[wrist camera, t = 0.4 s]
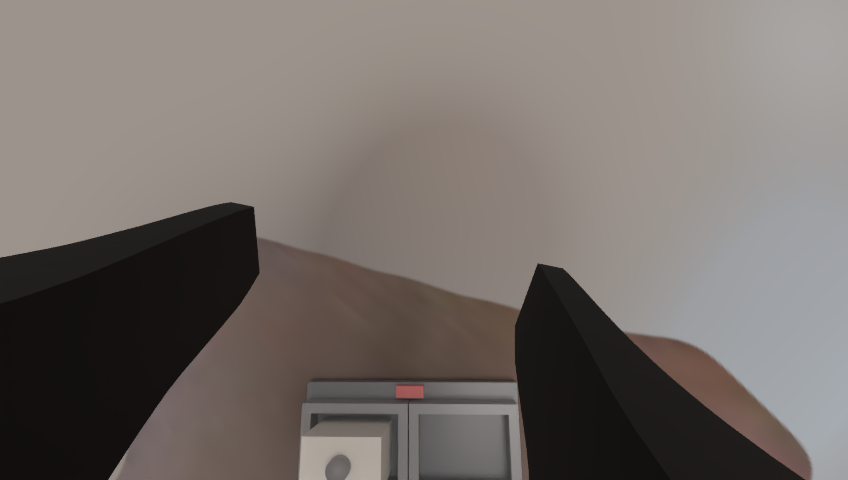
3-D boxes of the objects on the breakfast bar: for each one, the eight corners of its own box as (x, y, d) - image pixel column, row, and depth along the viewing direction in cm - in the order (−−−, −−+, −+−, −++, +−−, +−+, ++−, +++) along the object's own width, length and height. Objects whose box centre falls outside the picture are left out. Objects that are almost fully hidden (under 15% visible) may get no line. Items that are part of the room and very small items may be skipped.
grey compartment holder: (520, 501, 33) (544, 559, 25) (306, 496, 34) (262, 551, 26) (514, 380, 36) (534, 397, 27) (313, 379, 37) (273, 396, 28)
